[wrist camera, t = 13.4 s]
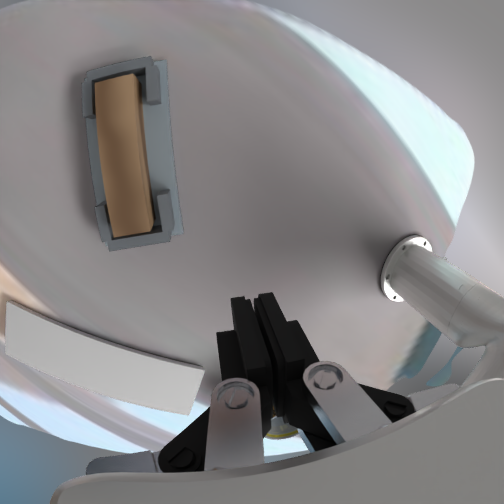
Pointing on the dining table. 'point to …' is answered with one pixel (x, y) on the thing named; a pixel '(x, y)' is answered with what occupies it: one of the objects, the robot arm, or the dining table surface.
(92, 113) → the board
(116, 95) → the slat
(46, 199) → the dining table surface
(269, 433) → the ceramic cup
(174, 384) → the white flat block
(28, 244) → the dining table surface
